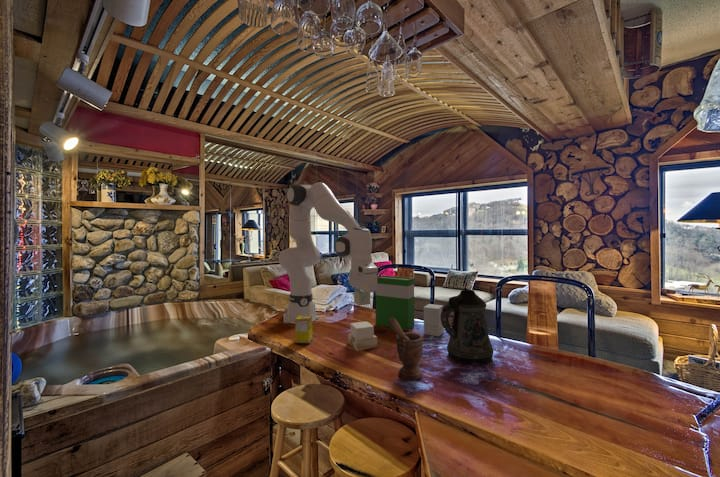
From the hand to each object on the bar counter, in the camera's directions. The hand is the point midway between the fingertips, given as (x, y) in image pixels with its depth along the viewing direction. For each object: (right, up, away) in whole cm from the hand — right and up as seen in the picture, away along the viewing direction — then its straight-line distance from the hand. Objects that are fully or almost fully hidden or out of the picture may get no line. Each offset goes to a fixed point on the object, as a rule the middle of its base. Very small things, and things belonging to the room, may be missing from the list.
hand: (362, 299), depth 132 cm
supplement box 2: (+33, -19, +15) cm, 41 cm away
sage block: (0, -2, 0) cm, 2 cm away
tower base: (0, -19, +1) cm, 19 cm away
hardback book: (+16, -18, +27) cm, 37 cm away
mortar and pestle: (+14, -20, -28) cm, 37 cm away
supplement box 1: (-25, -19, +5) cm, 32 cm away
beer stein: (+39, -19, -13) cm, 46 cm away
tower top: (0, -15, 0) cm, 15 cm away
